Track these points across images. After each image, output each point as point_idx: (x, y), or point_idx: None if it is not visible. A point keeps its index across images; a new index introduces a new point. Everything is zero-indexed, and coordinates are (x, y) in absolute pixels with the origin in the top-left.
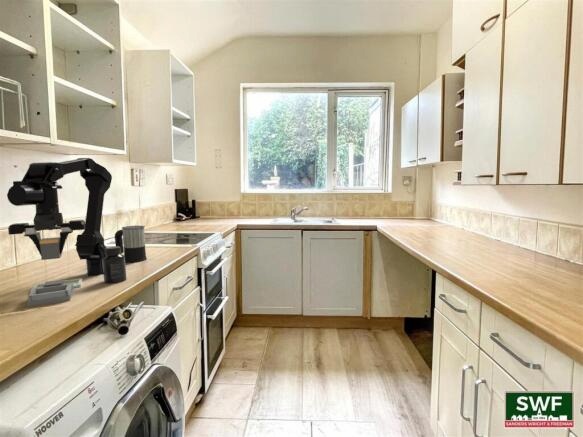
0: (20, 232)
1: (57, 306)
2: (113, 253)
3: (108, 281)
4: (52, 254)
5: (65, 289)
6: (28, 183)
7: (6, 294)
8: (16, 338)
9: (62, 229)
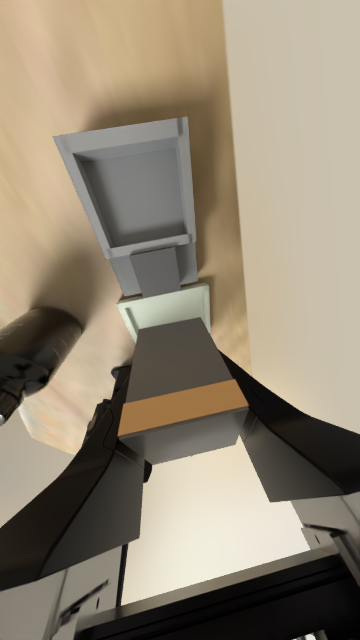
0: None
1: (97, 118)
2: None
3: (53, 312)
4: (163, 337)
5: (120, 245)
6: None
7: (245, 308)
8: None
9: (60, 626)
